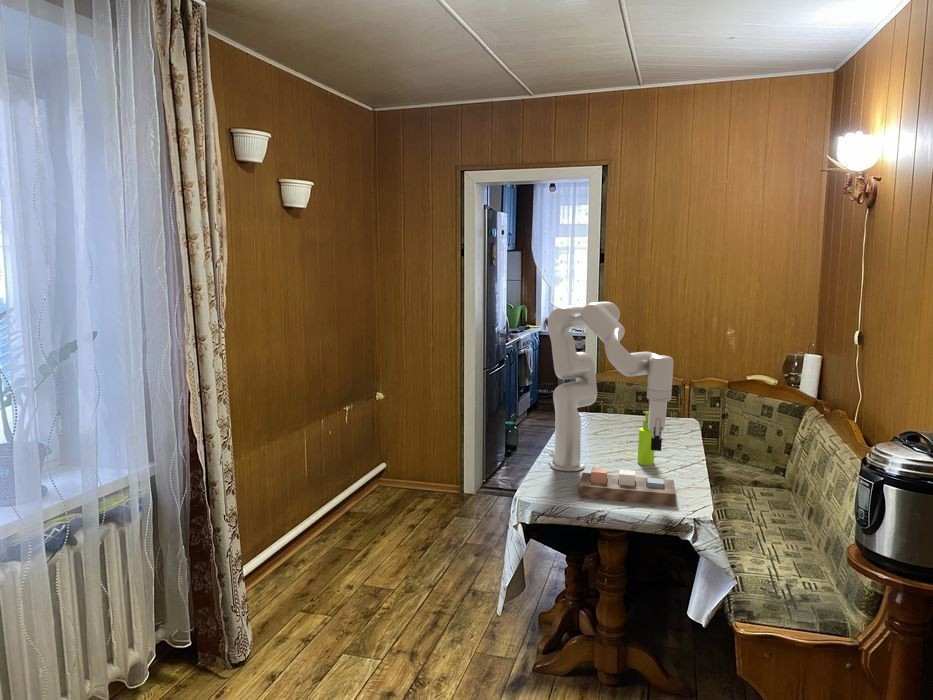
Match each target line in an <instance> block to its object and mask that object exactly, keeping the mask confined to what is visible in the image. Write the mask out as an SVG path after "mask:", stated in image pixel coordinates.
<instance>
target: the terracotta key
mask: <svg viewBox="0 0 933 700" xmlns="http://www.w3.org/2000/svg"><path fill="white" fill-rule="evenodd" d="M590 473H591V482H592V483H604V484H606V483H607V475H608V468H605V467H604V468H603V467H595V466H592V467H591V471H590Z"/></svg>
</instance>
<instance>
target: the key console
mask: <svg viewBox="0 0 933 700" xmlns="http://www.w3.org/2000/svg"><path fill="white" fill-rule="evenodd" d="M647 478H648V477H640V476H635V486H627V485H619V474H618V475H616V474H607V483H606V484H604V483H592V482H591V472H582V473H581V476H580V479H579V483H578V495H577V498H580V499H581V498H582V499H590V500H591V499H592V500H603V501H604V500H605V501H614V502H624V503H634V504H645V505H646V504H647V505H654V506H657V505H658V506H667V507H676V496H677V495H676V486H675V481H674V479H666V478H665V479H664V478H662V479H663V481H664V489H661V488H650V487H647Z"/></svg>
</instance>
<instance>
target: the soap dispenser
mask: <svg viewBox="0 0 933 700" xmlns="http://www.w3.org/2000/svg"><path fill="white" fill-rule="evenodd" d="M642 413H643V414H645V415H644V419H642V427H639V428H638V444H637V445H638V447H637V463H638V464H640V465H642V466H653V465H654V464H655V463H654V462H655V451H654V450H651V437H652V430H649V429H648V419H649V410H648V411H647V410H645V411H643V412H642Z"/></svg>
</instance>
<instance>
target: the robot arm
mask: <svg viewBox="0 0 933 700" xmlns="http://www.w3.org/2000/svg"><path fill="white" fill-rule="evenodd" d="M620 317H621V311H620V309H619V307H618V306H617V305H616V304H615V303H613V302H611V301H598V302H597V301H595V302H594V301H593V302H589V303H587V304H575V305H574V304H572V305H562V306H559V307H556V308H554V309H553V310H552V311H551V313H550V314H549V316H548V320H547V330H548V336H549V338H550V342H551V354H552V360H553V362H552V363H553V369H554V372H555V373H554V374H555V376H556V377H557V378H558V379H560V380H572V379H575V381H570V382H565V383H562V384H559V385H558V386H557V387H555V389H554V391H553V394H552V399H553V400H552V401H553V407H554V412H555V413H554V415H555V417H554V420H555V424H554V429H555V431H554V449H553V450H551V451H550V452H549V453H548V456H549V457H550V458H552V460H551V461H550V465H549V466H550V468H552V469H553V470H557V471H562V472H579V471H582V470H583V469H584V468H585V463H584V462H582V461H581V449H582V448H581V447H582V443H581V442H582V417H581V415H580V413H579V410H578V408H583V407H588V406H591V405H593V404H594V403H595V402H596V401H597V397H598V387H597V377H596V367H595V363H594V360H593V358H592V356H591V355H589V354H588V353H587V352H584V351H576V342H575V339H574V336H573V335H572V334H571V332H570V330H571V329H574V330H575V329H587V328H589V330H591V331H592V333H594V334H595V335H596V336H597V337H598V339H600V341H602V343H603V344H604V350H605V351H604V352H605V355H606V358H607V360H608V362H609V363H610V364H611V366H613V367H614V368H615V369H616V371H618V372H619V373H620V374H622V376H625V377H637V376H638V377H639V376H646V375H647V386H646V387H647V388H646V399H647V400H649V403H648V404H649V405H648V411H649V419H648V429H649V430H652V437H651V450H654V452H655V451H656V452H661V451H662V443H663V442H662V441H663V438H662V432H664V431H665V427H666V420H667V408H668V402H669V401H671V400H672V394H673V393H672V392H673V391H672V390H673V377H674V376H673V375H674V359H673V357H672V356H670V355H661V354H657V353H654V352H651V351H639V352H629V351H628V350H627V349H626V348H625V347H624V346H623V345H622V344H621V343H620V341H621V340H622V339H623V338H624V336H625V334H626V330H625V327H624V326H623V325H622V324H621V322H619V320H620Z"/></svg>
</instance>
